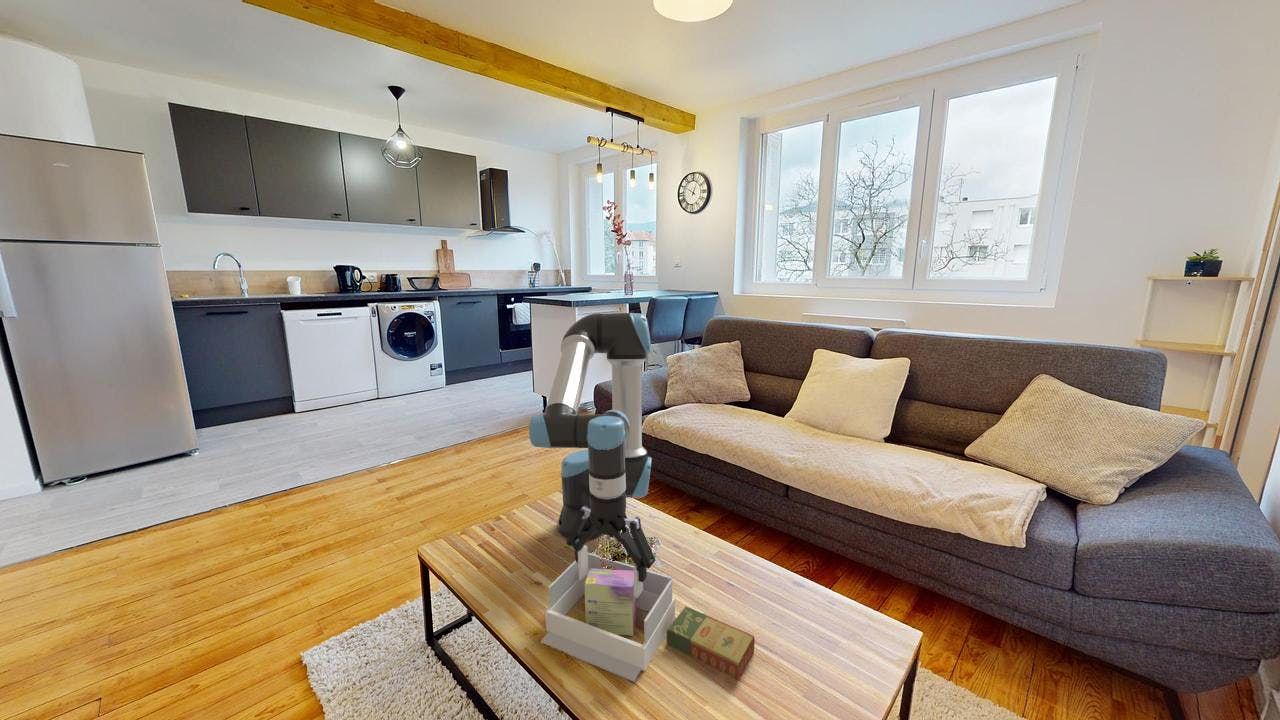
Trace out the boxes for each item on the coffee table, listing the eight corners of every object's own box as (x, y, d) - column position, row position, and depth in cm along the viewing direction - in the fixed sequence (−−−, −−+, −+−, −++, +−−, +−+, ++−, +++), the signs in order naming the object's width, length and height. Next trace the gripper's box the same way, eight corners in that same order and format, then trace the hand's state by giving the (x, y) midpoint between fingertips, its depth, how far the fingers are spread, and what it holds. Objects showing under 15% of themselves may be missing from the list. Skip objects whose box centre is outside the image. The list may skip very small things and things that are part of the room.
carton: (738, 683, 87) (738, 663, 86) (665, 645, 96) (665, 627, 95) (754, 653, 94) (755, 634, 93) (685, 620, 103) (685, 603, 102)
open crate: (537, 641, 97) (534, 599, 95) (585, 587, 114) (584, 550, 112) (638, 683, 87) (637, 637, 85) (675, 617, 103) (675, 577, 101)
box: (636, 616, 104) (635, 569, 102) (633, 636, 98) (632, 586, 96) (591, 614, 105) (589, 567, 103) (585, 633, 99) (583, 584, 97)
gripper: (547, 488, 98) (552, 578, 101) (655, 512, 87) (656, 613, 91) (568, 474, 104) (571, 560, 108) (670, 495, 94) (670, 590, 97)
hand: (610, 584), depth 99 cm, fingers open, 13 cm apart
